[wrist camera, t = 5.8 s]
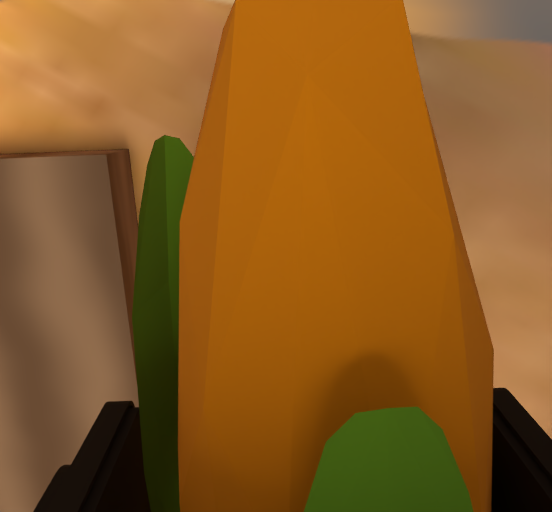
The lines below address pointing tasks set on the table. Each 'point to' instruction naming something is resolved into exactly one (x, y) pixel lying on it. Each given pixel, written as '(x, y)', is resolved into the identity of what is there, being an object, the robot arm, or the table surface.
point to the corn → (310, 283)
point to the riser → (62, 309)
